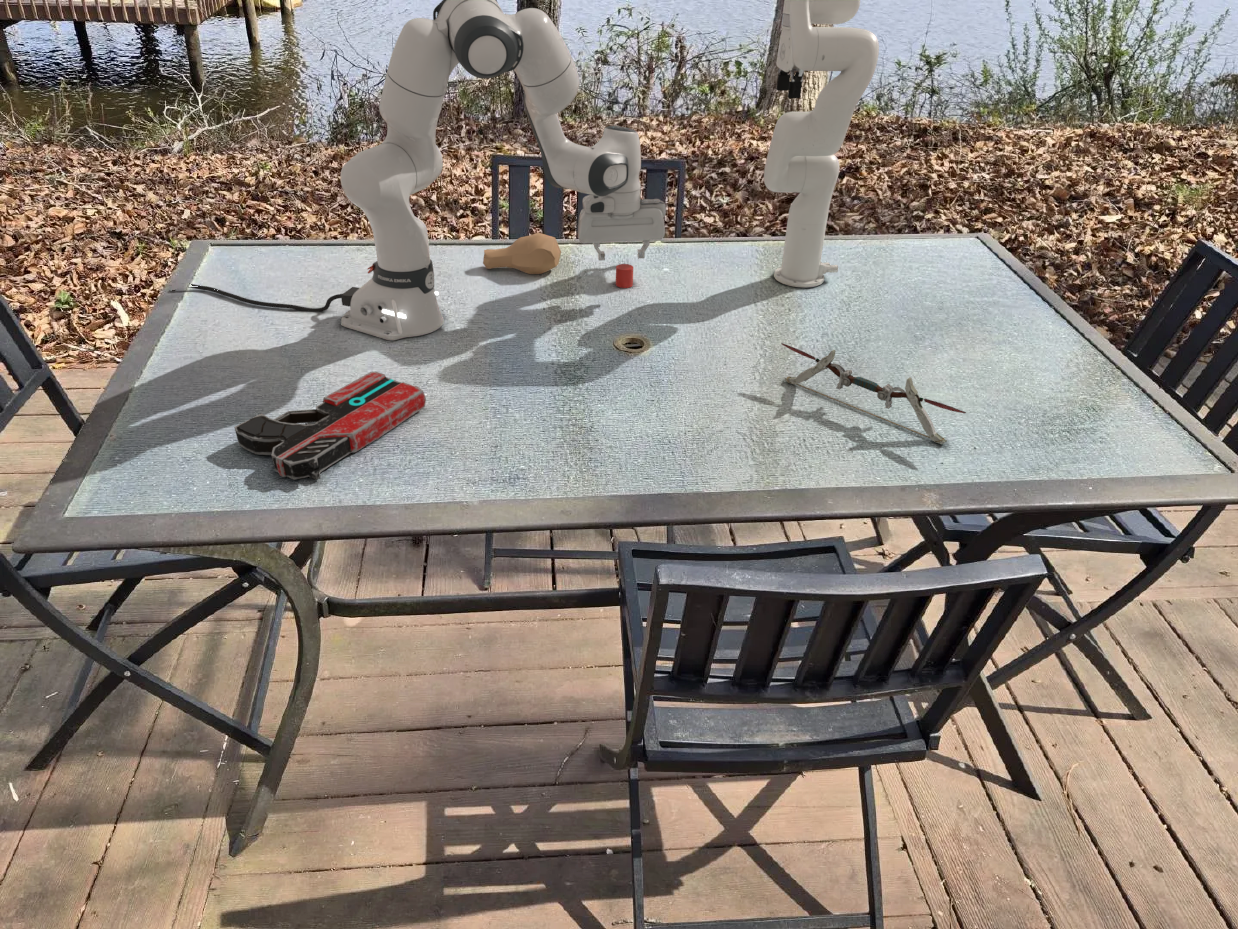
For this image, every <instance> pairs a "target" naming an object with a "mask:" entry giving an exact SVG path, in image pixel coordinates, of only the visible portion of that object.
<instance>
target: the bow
mask: <svg viewBox="0 0 1238 929" xmlns="http://www.w3.org/2000/svg"><path fill="white" fill-rule="evenodd" d="M780 345H782V346H784V347H785V348H787V349H789V350H790V351H793V352H794V353H796V354H799V355H801V356H803V357H805V358H808V359H810V360H813V361H815V363H816V364H815V365H812V366H810V367H809V368H807V369H805V370H803V371H802V372H800V373H799V374H798V375H797V376H787V377H784V381H785V382H786V383H788V384H790V385H797V386H799V387H802V388H804V389H806V390H809V391H811V392H814V393H816V394H819V395H821V396H824V397H826V398H828V399H831V400H834V401H836V402H839V403H840V404H844V405H846V406H849V407H851V408H853V409H856V410H859V411H860V412H862V413H866V414H868V415H871V416H874V417H876V418H879V419H881V420H884V421H886V422H888V423H891V424H893V425H896V426H898V427H900V428H904V429H906V430H907V431H911V432H914V433H915V434H919V435H921V436H923V437H925V438H928V439H930V440H931V441H933V442H934V443H937V444H940V445H945V443H947V441H948V440H947V439H946V438H945V437H944V436H942V435H941V434H939V433H938V432H936V428H935V426H934V423H933V421H932V419H931V417H930V416H929V414H928V412H927V411H926V409H925V408H924V406H923V404H922V402H923V401H924V402H925V403H927V404H929V405H932V406H935V407H937V408H940V409H944V410H947V411H951V412H955V413H960V414H967V412H966V411H964V410H961V409H958V408H956V407H953V406H951V405H948V404H945V403H942V402H939V401H935V400H932V399H929V398H923V397H920V395H919V392H918V390H917V388H916V387H915V385H914V381H913V379H912V377H908V378H907V379H906V382H905V387H904V389H903V388H902V387H900V386H895V387H893V386H892V385H891V384H890V383H887V384H886V385H885V386H883V387H882V386H880V385H879V384H878V383H877V382H875V381H873V380H870V379H868V378H864V377H862V376H853V375H852V374H853V370H852V369H846V370H845V368H844V367H843V366H842V365H841V364H838V363H835V362H833V361H834V360H835V356H836V349H832V350H831V351H830V352H829V353H828V354H827V355H826V356H823V357H822V358H821V359H820V358H818V357H815V355H814V356H813V355H812V354H810V353H808V352H805V351H803V350H801V349H798V348H796V347H793V346H791V345H788V344H786V343H783V342H781V343H780ZM832 362H833V363H832ZM827 369H829V370H830V371H831V372H832V373H833V374H834V375H835V376H837V378H839V380H838V382H837V384H836V390H839V391H840V390H841V389H843V388H844V387H846V388H849V387H850V386H852V384H853V385H855V386H858V387H859V388H863V389H865V390H868V391H870V392H873V393H877V395H876V396H877V399H879V400H880V401H884V402H885V403H884V405H885V406H884V408H885V409H887V410H889V409H891V408H892V407H893V405H892V404H893V400H892V399H902V398H903V399H904V398H905V399H906V400H907V401H908V403H909V404H910V406H911V407H912V409H913V411H914V412H915V415H916V417H917V419H918V421H919V423H920V424H921V427H922V429H923V430H924V433H925V434H926V435H925V434H924V433H921V432H918V431H916V430H913V429H911V428H908V427H905V426H904V425H901V424H898V423H896V422H893V421H890V420H889V419H887V418H884V417H881V416H879V415H876V414H873V413H871V412H869V411H866V410H863V409H861V408H858V407H856V406H854V405H851V404H849V403H846V402H844V401H842V400H839V399H836V398H834V397H831V396H830V395H826V394H824V393H822V392H819V391H817V390H814V389H812V388H809V387H806V386H804V385H801V384H802V383H803V382H807V381H808V380H810V379H811V378H812V377H813V376H815V375H817V374H819V373H821V372H823V371H825V370H827Z"/></svg>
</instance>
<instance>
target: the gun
mask: <svg viewBox="0 0 1238 929" xmlns="http://www.w3.org/2000/svg"><path fill="white" fill-rule="evenodd" d="M426 400H427V397H426V395H425V392H424V390H423V389H422V388H420V387H419V386H418V385H413V384H411V383H410V384H409V383H407V382H404V381H403V382H401V381H398V380H395V379H393V378H390V377H387V376H386V374H385V373H382V372H379V371H370V372H367V373H366V374H364V375H363V376H360V377H358V378H357V379H355V380H353V381H352V382H349V383H348V384H345V385H344V386H342V387H340V388H339V389H336V390H335V391H333V392H332V393H329V394H328V395H326V396H324V397H323V399H322V402H321V403H320V404H318V405H316V406H315V409H299V410H298V409H297V410H288V411H286V412H284V413H283V414H280V415H278V416H277V417H275V418H271V417H268V416H267V415H265V414H264V413H258V414H256V415H255V416H253V417H250V418H249V419H247V420H245V421H243V422H241V423H240V424H237V425H234V432H235V435H236V439H237V443H238V444H239V446H240V447H241V448H243V449H244V450H246V451H247V452H250V453H252V454H254V455H262V456H263V455H264V456H271V459H272V463H273V467H274V472H276V473H278V474H279V476H280V477H282V478H286V477H287V478H289V479H291V480H293V481H295V480H299V479H305V478H308V477H309V478H311V479H313V480H315V481H319V479H321V473H322V472H323V471H325V470H326V469H328V468H329V467H332V466H333V465H334V464H336V463H337V462H339V461H340V460H342V459H343V458H346V456H348V455H350V454H351V453H353V454H354V453H357V452H359V451H360V450H361V449H363V448H365V447H366V446H368V445H370V444H371V443H373V442H375V441H376V440H378V439H380V438H381V437H383V436H384V435H386V434H387V433H388V432H390V431H391V430H393V429H394V428H396V427H398V426H399V425H401V424H402V423H403V422H404V421H406V420H408V419H409V418H411V417H412V416H414V415H415V414H416V413H418V412H419V411H421V410H423V409H424V408H425V407H426Z"/></svg>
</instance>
